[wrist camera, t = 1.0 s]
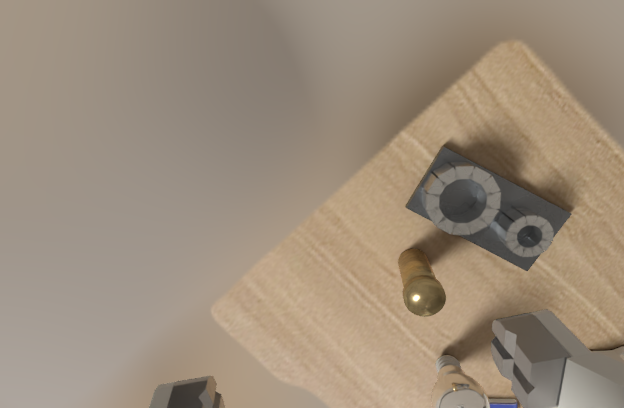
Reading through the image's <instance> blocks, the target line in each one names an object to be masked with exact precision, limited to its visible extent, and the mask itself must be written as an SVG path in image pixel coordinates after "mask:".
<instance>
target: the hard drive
mask: <svg viewBox="0 0 624 408" xmlns="http://www.w3.org/2000/svg"><path fill="white" fill-rule="evenodd" d="M489 402H490V408H517V401H516V399H489Z"/></svg>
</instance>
